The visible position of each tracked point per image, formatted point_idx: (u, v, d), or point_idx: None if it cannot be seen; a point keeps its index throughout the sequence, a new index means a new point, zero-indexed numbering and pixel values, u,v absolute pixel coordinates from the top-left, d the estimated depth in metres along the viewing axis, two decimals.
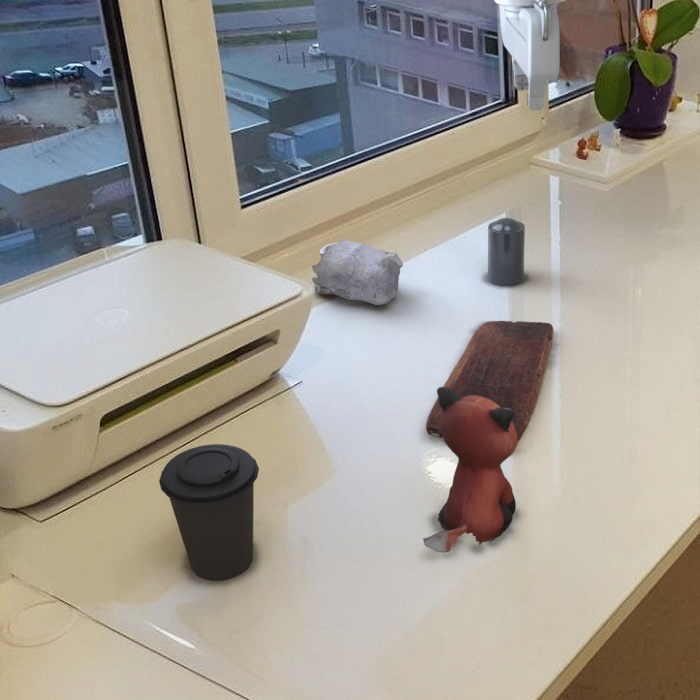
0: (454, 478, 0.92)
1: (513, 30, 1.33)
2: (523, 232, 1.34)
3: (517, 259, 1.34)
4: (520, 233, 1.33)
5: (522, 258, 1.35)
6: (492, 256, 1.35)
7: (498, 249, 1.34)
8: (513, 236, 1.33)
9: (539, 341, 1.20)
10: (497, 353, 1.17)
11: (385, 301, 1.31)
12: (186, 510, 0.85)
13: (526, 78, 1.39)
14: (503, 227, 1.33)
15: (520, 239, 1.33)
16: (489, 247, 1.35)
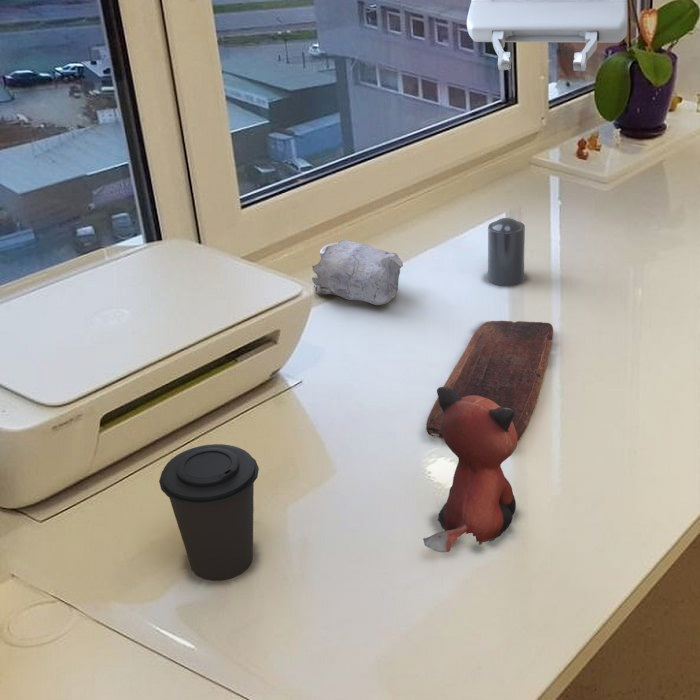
0: (454, 478, 0.92)
1: None
2: (523, 232, 1.34)
3: (517, 259, 1.34)
4: (520, 233, 1.33)
5: (522, 258, 1.35)
6: (492, 256, 1.35)
7: (498, 249, 1.34)
8: (513, 236, 1.33)
9: (539, 341, 1.20)
10: (497, 353, 1.17)
11: (385, 301, 1.31)
12: (186, 510, 0.85)
13: (574, 55, 1.33)
14: (503, 227, 1.33)
15: (520, 239, 1.33)
16: (489, 247, 1.35)
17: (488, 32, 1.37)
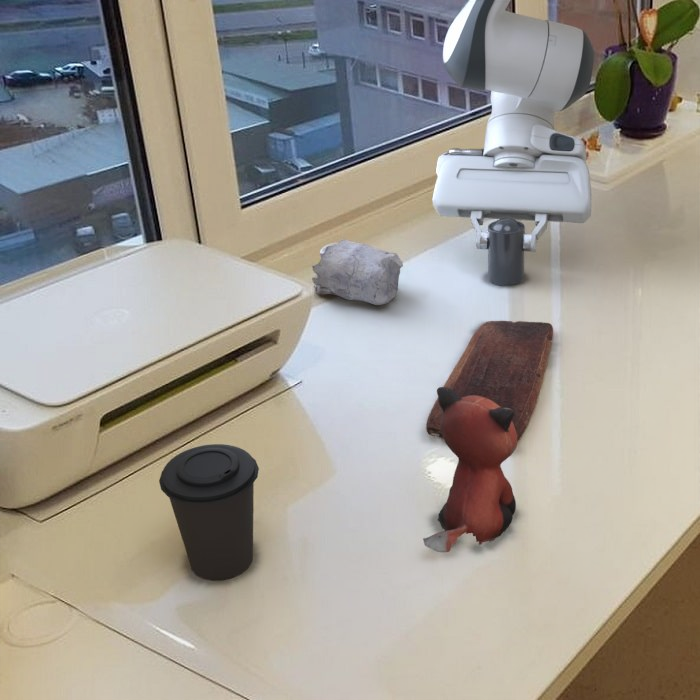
0: (454, 478, 0.92)
1: None
2: (523, 232, 1.34)
3: (517, 259, 1.34)
4: (519, 233, 1.33)
5: (522, 258, 1.35)
6: (492, 256, 1.35)
7: (498, 249, 1.34)
8: (513, 236, 1.33)
9: (539, 341, 1.20)
10: (497, 353, 1.17)
11: (385, 301, 1.31)
12: (186, 510, 0.85)
13: (524, 237, 1.35)
14: (503, 227, 1.33)
15: (520, 239, 1.33)
16: (489, 247, 1.35)
17: (454, 210, 1.38)
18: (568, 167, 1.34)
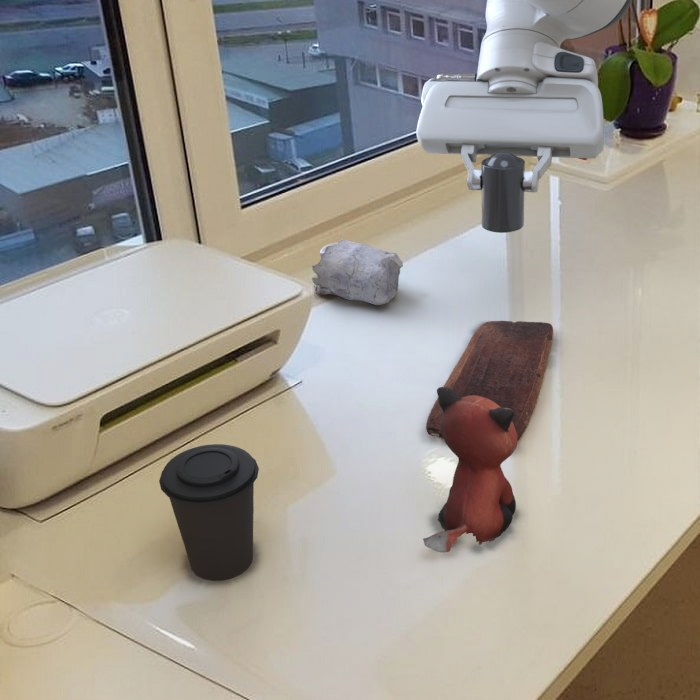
0: (454, 478, 0.92)
1: None
2: (523, 168, 1.13)
3: (516, 201, 1.14)
4: (519, 169, 1.12)
5: (522, 200, 1.14)
6: (486, 198, 1.14)
7: (493, 188, 1.13)
8: (511, 172, 1.12)
9: (539, 341, 1.20)
10: (497, 353, 1.17)
11: (385, 301, 1.31)
12: (186, 510, 0.85)
13: (524, 174, 1.14)
14: (499, 162, 1.12)
15: (519, 177, 1.13)
16: (483, 187, 1.14)
17: (442, 145, 1.17)
18: (576, 91, 1.13)
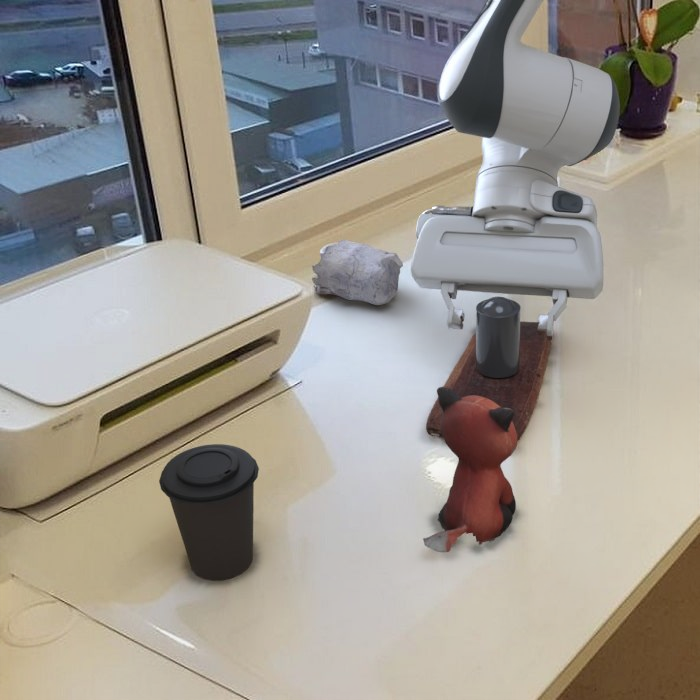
0: (454, 478, 0.92)
1: None
2: (518, 315, 1.10)
3: (512, 347, 1.11)
4: (514, 317, 1.09)
5: (517, 345, 1.11)
6: (481, 343, 1.11)
7: (488, 335, 1.10)
8: (506, 320, 1.09)
9: (539, 341, 1.20)
10: None
11: (385, 301, 1.31)
12: (186, 510, 0.85)
13: (539, 317, 1.10)
14: (494, 309, 1.09)
15: (515, 324, 1.10)
16: (477, 332, 1.11)
17: (437, 282, 1.14)
18: (575, 232, 1.10)
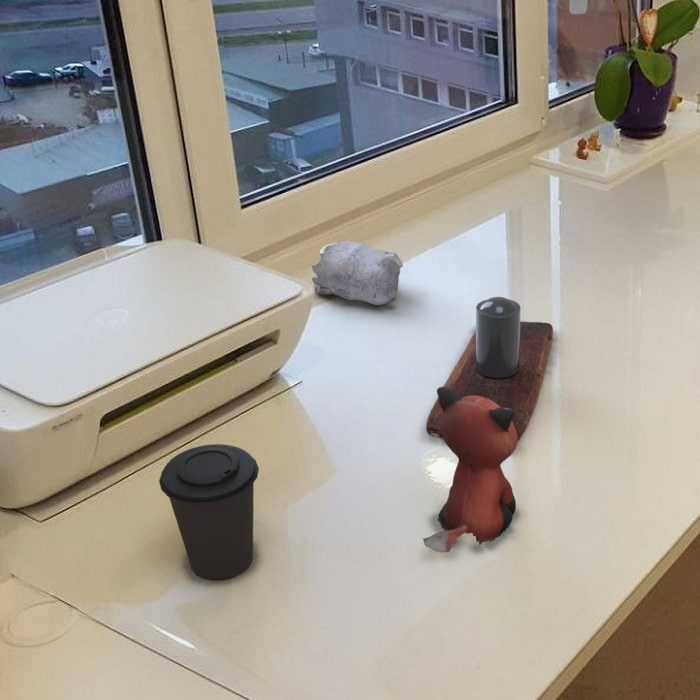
0: (454, 478, 0.92)
1: None
2: (518, 315, 1.10)
3: (512, 347, 1.11)
4: (514, 317, 1.09)
5: (517, 345, 1.11)
6: (481, 343, 1.11)
7: (488, 335, 1.10)
8: (506, 320, 1.09)
9: (539, 341, 1.20)
10: None
11: (385, 301, 1.31)
12: (186, 510, 0.85)
13: None
14: (494, 309, 1.09)
15: (515, 324, 1.10)
16: (477, 332, 1.11)
17: None
18: None
